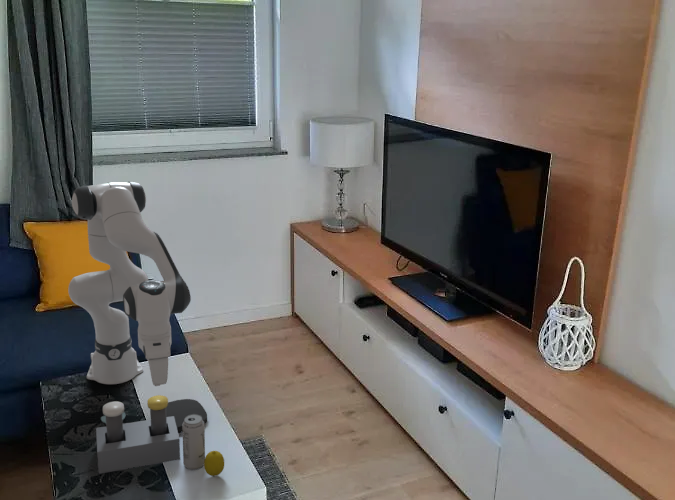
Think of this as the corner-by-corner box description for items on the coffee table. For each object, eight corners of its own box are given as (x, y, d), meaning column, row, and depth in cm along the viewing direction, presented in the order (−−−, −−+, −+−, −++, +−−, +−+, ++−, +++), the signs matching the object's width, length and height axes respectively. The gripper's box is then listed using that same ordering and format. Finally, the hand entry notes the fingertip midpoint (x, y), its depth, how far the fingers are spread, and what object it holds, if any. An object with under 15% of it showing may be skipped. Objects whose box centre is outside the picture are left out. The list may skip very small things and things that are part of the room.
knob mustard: (148, 431, 193) (146, 396, 189) (167, 428, 195) (166, 394, 191) (150, 441, 188) (148, 407, 185) (170, 438, 190) (169, 404, 186)
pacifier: (99, 419, 207) (102, 428, 202) (97, 401, 205) (101, 410, 200) (123, 414, 211) (127, 423, 206) (121, 396, 209) (126, 405, 204)
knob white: (104, 437, 189) (102, 403, 185) (125, 434, 191) (123, 400, 187) (105, 449, 184) (103, 413, 180) (126, 445, 186) (124, 410, 182)
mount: (97, 448, 193) (96, 427, 190) (174, 436, 200) (173, 416, 198) (98, 473, 182) (97, 452, 180) (180, 459, 190) (179, 438, 187)
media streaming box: (211, 425, 207) (211, 416, 206) (165, 437, 200) (165, 429, 199) (194, 402, 219) (194, 394, 218) (150, 414, 212) (150, 405, 211)
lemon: (205, 469, 186) (204, 445, 183) (225, 469, 186) (225, 445, 184) (203, 482, 181) (202, 457, 178) (223, 482, 181) (223, 457, 179)
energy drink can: (205, 470, 186) (204, 424, 181) (183, 472, 184) (181, 425, 180) (205, 457, 191) (204, 412, 186) (183, 458, 190) (182, 413, 185)
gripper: (139, 325, 190) (142, 368, 194) (146, 356, 172) (148, 403, 176) (162, 322, 192) (164, 365, 196) (171, 353, 174) (173, 399, 178)
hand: (157, 383), depth 186 cm, fingers closed
